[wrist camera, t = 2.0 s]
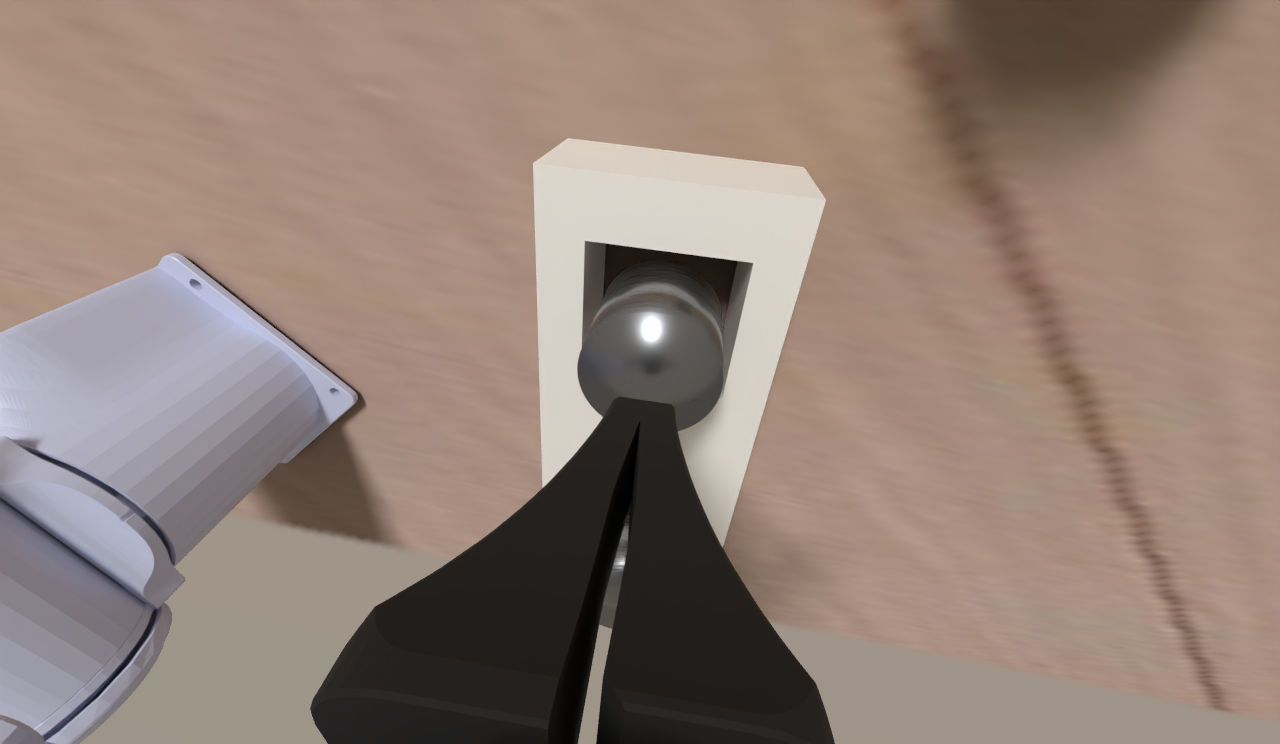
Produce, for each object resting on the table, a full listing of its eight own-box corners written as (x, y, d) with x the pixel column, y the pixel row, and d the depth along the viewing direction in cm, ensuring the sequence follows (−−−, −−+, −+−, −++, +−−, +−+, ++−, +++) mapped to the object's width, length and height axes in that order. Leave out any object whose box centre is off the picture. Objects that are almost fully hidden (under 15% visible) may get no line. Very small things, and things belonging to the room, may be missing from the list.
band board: (568, 138, 17) (533, 163, 14) (803, 166, 17) (826, 199, 13) (564, 520, 28) (545, 584, 25) (705, 542, 28) (704, 610, 25)
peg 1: (572, 519, 23) (551, 591, 20) (638, 486, 21) (626, 560, 18) (628, 566, 24) (616, 639, 22) (694, 539, 23) (692, 614, 20)
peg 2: (576, 305, 17) (547, 364, 14) (671, 233, 15) (661, 283, 12) (651, 385, 18) (640, 453, 15) (745, 328, 16) (752, 393, 14)
